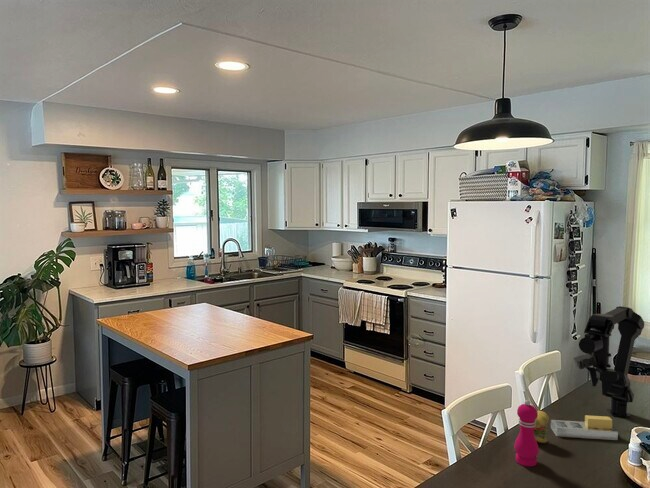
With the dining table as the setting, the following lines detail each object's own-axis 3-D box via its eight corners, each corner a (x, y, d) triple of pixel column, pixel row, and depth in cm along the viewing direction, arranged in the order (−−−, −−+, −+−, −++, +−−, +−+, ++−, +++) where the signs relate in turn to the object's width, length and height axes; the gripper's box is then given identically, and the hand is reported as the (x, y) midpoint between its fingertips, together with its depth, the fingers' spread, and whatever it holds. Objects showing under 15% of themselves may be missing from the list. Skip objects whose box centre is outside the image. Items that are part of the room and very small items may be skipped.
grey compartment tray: (556, 436, 174) (556, 427, 174) (550, 427, 181) (550, 419, 181) (617, 440, 171) (617, 431, 171) (609, 431, 178) (609, 423, 178)
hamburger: (552, 446, 167) (553, 411, 166) (532, 447, 166) (533, 412, 165) (540, 436, 174) (541, 403, 174) (521, 437, 174) (522, 403, 173)
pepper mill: (540, 468, 152) (542, 405, 151) (516, 466, 154) (517, 403, 152) (535, 457, 159) (537, 396, 158) (512, 455, 161) (513, 395, 160)
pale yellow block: (587, 435, 175) (588, 418, 174) (584, 431, 178) (585, 415, 177) (611, 436, 173) (612, 420, 173) (608, 433, 176) (608, 416, 176)
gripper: (568, 341, 193) (567, 380, 194) (585, 355, 174) (584, 398, 175) (599, 342, 191) (597, 382, 192) (620, 356, 172) (618, 400, 173)
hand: (598, 390), depth 183 cm, fingers open, 9 cm apart
